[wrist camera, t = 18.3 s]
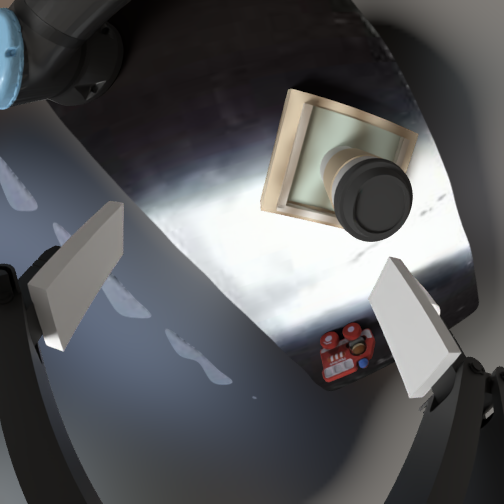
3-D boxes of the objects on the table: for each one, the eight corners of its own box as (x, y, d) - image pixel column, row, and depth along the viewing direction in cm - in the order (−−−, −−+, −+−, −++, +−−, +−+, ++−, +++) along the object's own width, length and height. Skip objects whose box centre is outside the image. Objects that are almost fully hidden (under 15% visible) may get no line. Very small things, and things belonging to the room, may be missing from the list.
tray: (260, 200, 47) (261, 214, 42) (288, 89, 38) (293, 88, 33) (372, 227, 49) (383, 242, 44) (406, 130, 40) (423, 135, 35)
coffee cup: (375, 142, 38) (429, 170, 25) (367, 201, 42) (410, 250, 29) (314, 135, 38) (346, 159, 25) (308, 197, 42) (333, 249, 29)
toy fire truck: (372, 334, 62) (385, 369, 53) (322, 354, 65) (329, 390, 56) (365, 315, 59) (379, 351, 50) (312, 337, 62) (319, 375, 53)
